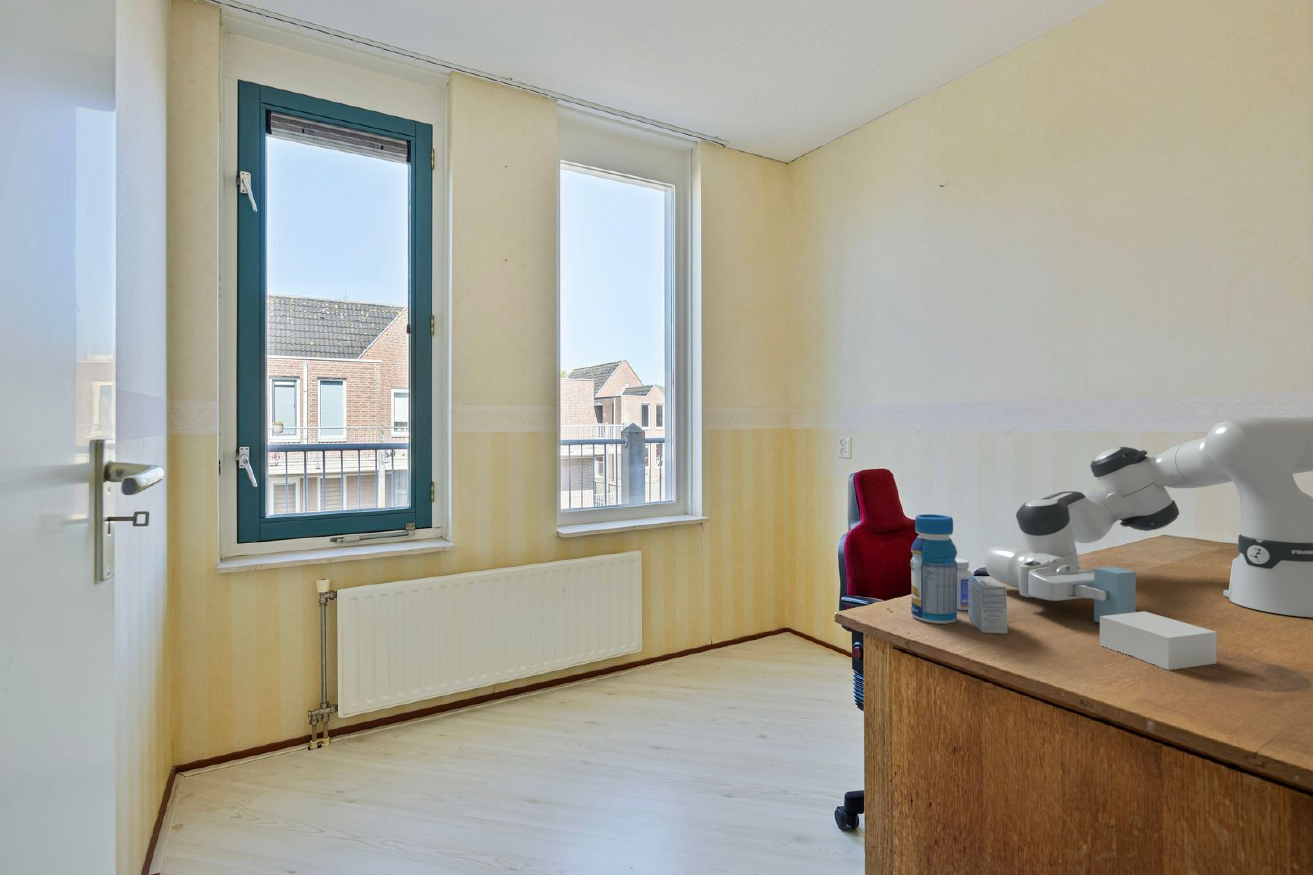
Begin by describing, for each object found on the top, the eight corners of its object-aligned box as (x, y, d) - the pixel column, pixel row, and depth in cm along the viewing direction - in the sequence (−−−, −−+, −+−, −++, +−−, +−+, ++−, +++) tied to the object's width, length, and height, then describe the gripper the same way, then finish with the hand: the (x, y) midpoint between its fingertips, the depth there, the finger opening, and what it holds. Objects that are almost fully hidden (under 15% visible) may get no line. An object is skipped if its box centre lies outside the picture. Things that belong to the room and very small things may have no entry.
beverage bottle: (941, 628, 113) (941, 521, 112) (901, 616, 120) (901, 515, 120) (966, 619, 117) (967, 517, 117) (927, 609, 125) (927, 512, 124)
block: (1112, 618, 116) (1112, 566, 116) (1135, 625, 112) (1135, 571, 111) (1093, 620, 115) (1094, 568, 115) (1116, 628, 111) (1117, 573, 110)
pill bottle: (972, 604, 127) (972, 558, 127) (973, 611, 122) (973, 564, 122) (943, 601, 130) (943, 556, 129) (943, 608, 125) (943, 561, 125)
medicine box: (1007, 634, 109) (1007, 587, 109) (980, 633, 110) (980, 586, 110) (992, 621, 117) (992, 576, 117) (967, 619, 118) (967, 575, 118)
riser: (1144, 639, 106) (1144, 611, 106) (1216, 663, 95) (1216, 631, 95) (1099, 645, 104) (1099, 616, 103) (1168, 670, 93) (1168, 637, 93)
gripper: (1092, 588, 128) (1161, 607, 115) (1013, 595, 123) (1076, 616, 110) (1092, 558, 128) (1161, 574, 115) (1013, 565, 123) (1076, 581, 110)
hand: (1119, 594), depth 112 cm, fingers closed on block, 4 cm apart
